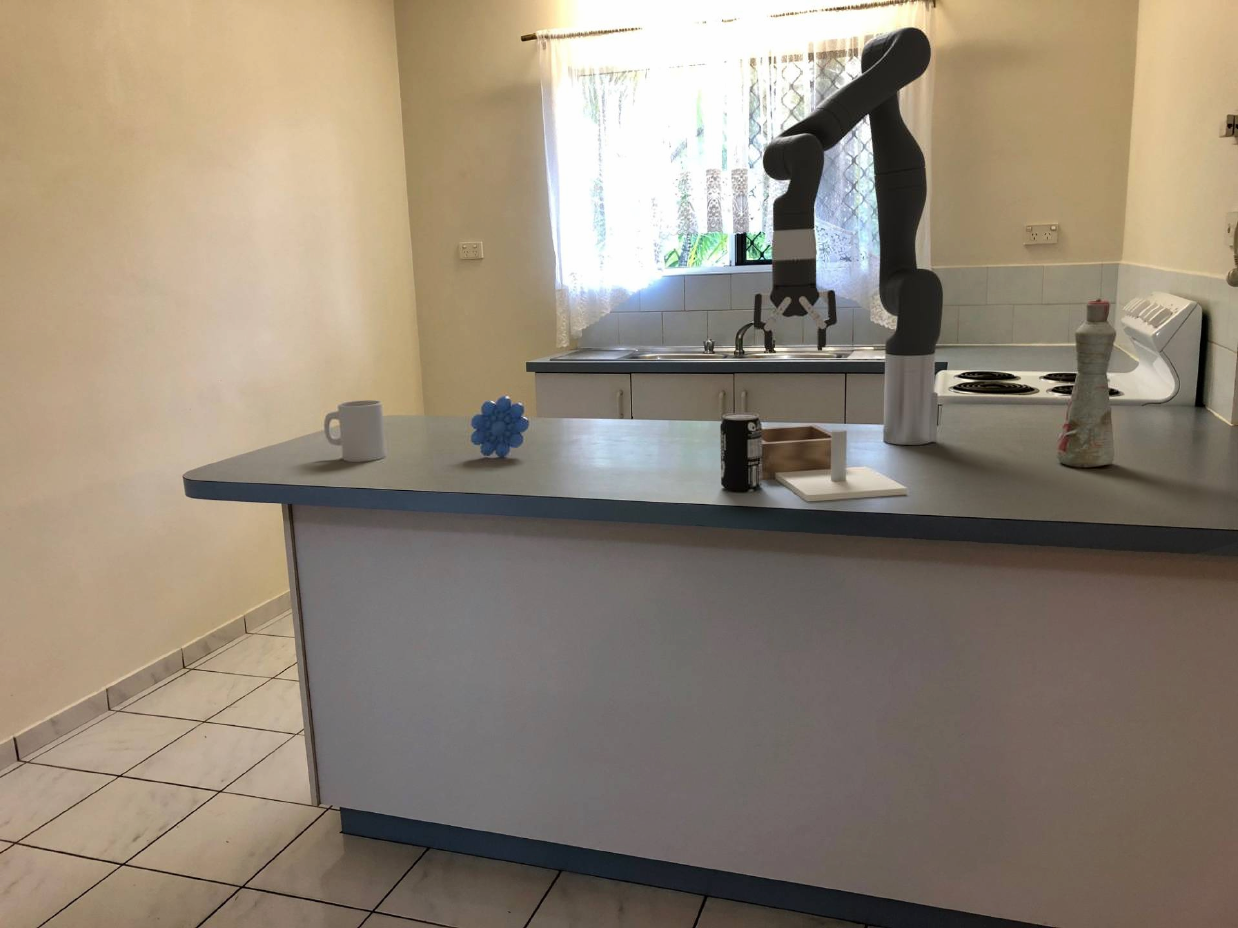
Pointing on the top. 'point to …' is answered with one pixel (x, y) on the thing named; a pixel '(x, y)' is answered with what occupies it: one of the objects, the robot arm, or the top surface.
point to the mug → (359, 430)
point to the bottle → (1090, 394)
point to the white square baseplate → (839, 478)
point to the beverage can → (741, 452)
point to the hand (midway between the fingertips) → (794, 351)
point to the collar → (795, 449)
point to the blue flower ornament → (499, 427)
